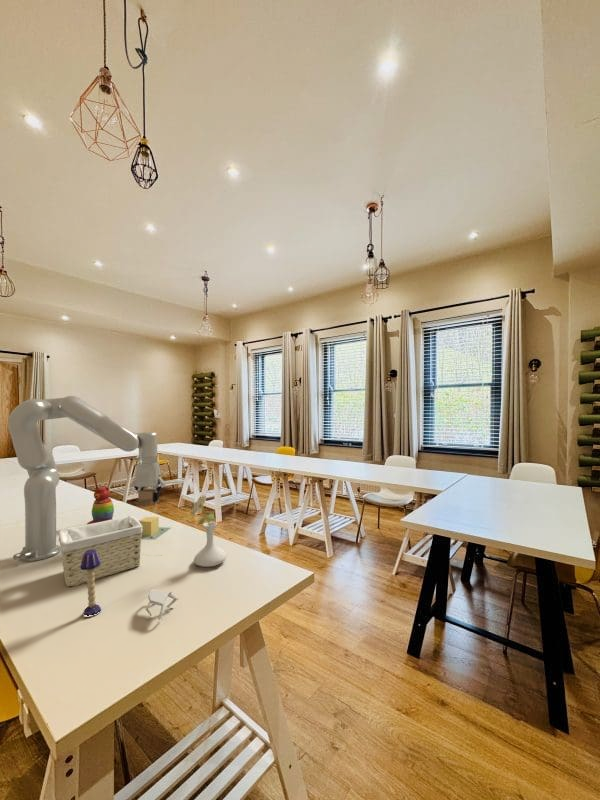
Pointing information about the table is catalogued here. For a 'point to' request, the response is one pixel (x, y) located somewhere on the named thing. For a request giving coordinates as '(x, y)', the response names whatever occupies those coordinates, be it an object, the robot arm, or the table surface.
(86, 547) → the storage basket
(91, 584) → the toy lamp
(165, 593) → the white legged frame
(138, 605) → the table surface
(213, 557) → the flower in vase
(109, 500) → the stacking bear
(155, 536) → the baseplate
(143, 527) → the mustard cube
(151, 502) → the walnut cube
